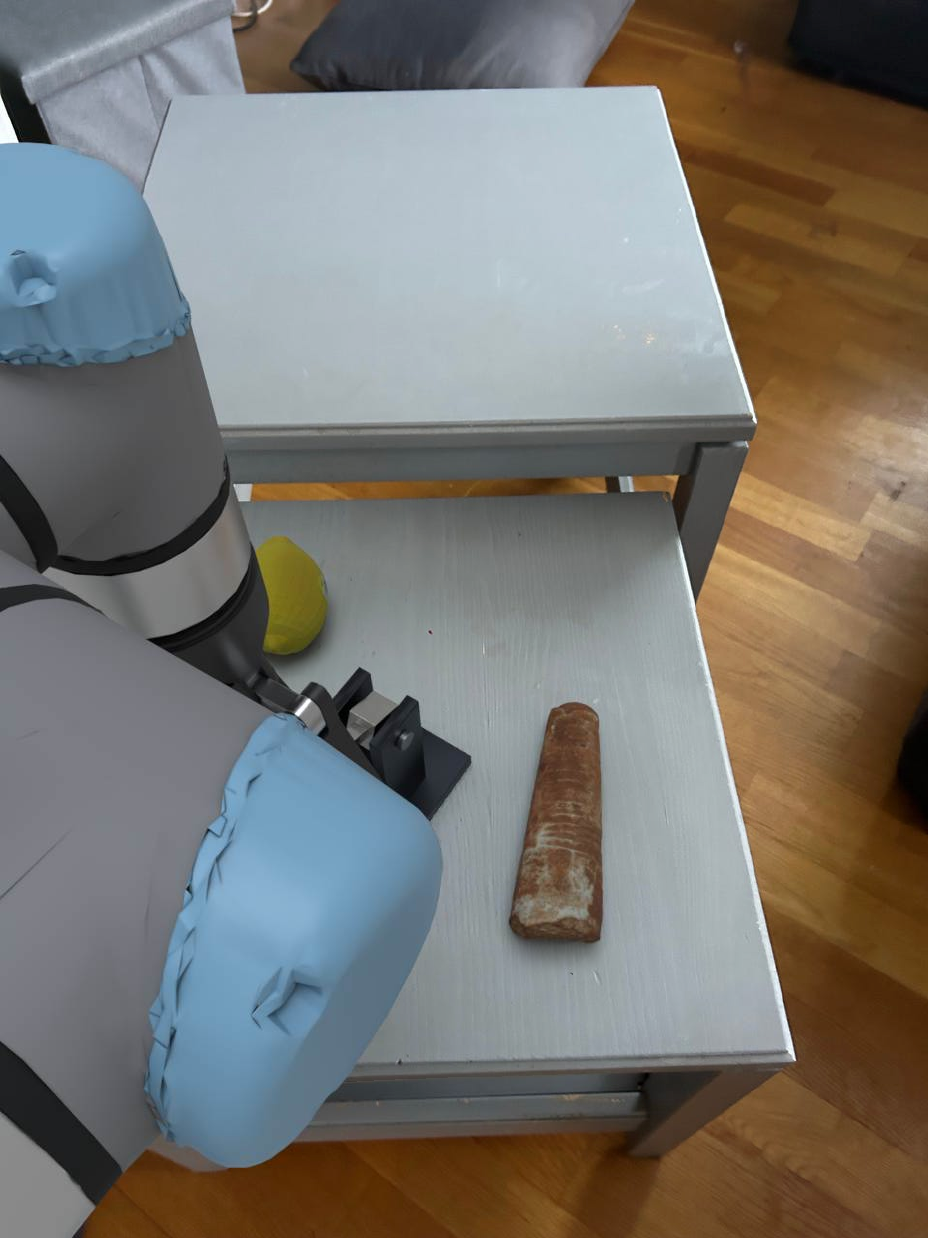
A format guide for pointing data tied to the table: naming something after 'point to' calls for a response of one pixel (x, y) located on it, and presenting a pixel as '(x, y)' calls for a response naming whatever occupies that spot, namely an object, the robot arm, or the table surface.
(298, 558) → the lemon
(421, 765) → the bracket
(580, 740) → the bread
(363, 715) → the lever
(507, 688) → the table surface
